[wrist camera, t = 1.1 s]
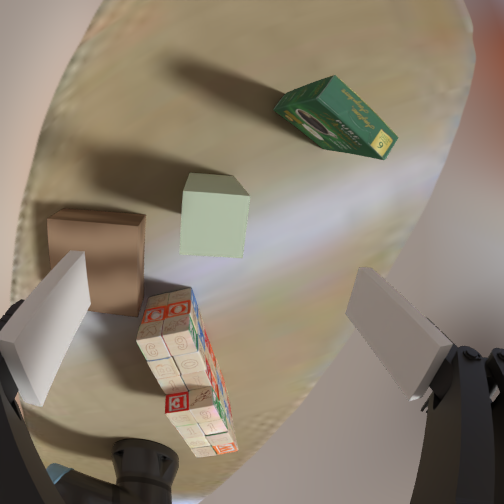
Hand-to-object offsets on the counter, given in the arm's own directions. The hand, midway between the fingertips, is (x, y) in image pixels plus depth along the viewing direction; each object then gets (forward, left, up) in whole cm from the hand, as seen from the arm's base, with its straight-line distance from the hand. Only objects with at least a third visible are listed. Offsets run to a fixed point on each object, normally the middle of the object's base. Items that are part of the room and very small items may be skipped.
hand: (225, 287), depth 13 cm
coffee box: (+10, -10, -22) cm, 26 cm away
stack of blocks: (-23, +1, -22) cm, 32 cm away
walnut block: (-8, +13, -22) cm, 27 cm away
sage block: (0, 0, -22) cm, 22 cm away
